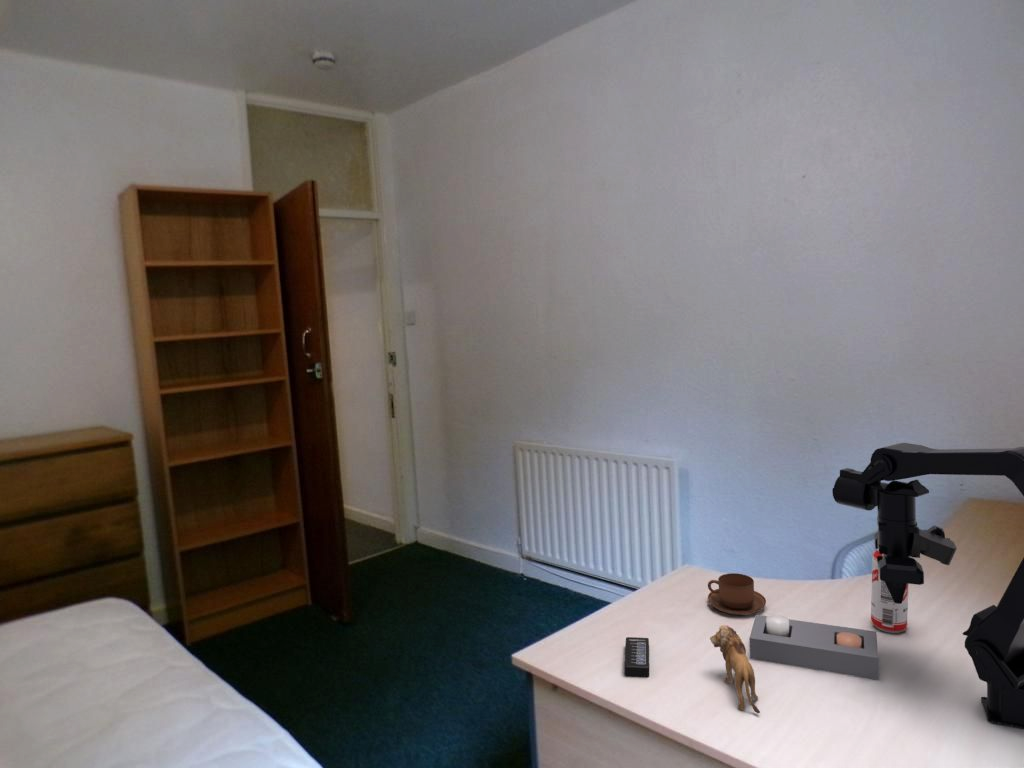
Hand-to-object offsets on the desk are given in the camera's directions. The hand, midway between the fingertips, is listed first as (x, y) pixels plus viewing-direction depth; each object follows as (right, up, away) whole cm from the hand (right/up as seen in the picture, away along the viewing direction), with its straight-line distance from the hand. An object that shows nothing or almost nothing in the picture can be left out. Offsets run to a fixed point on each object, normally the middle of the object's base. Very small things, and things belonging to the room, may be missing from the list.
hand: (897, 602), depth 115 cm
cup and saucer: (-19, -11, +28) cm, 36 cm away
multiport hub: (-44, -15, +9) cm, 47 cm away
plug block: (-12, -12, +7) cm, 18 cm away
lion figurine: (-29, -14, -2) cm, 33 cm away
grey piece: (-17, -10, +9) cm, 22 cm away
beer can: (+7, -10, +15) cm, 19 cm away
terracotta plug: (-7, -11, +4) cm, 13 cm away
